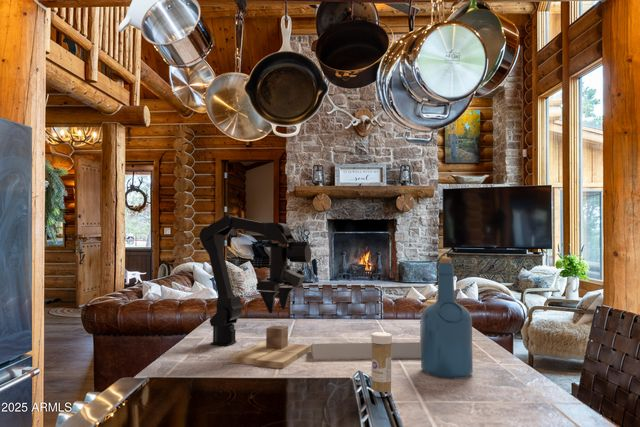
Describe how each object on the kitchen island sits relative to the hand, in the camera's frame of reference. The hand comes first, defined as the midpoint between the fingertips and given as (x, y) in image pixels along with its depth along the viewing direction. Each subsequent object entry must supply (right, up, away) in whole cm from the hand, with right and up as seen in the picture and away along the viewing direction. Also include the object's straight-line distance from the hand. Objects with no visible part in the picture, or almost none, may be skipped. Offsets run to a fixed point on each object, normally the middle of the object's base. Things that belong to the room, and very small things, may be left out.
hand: (277, 311), depth 146 cm
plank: (-4, -11, -9) cm, 15 cm away
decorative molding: (+28, -12, -8) cm, 32 cm away
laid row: (+3, -11, -12) cm, 17 cm away
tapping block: (0, -10, -6) cm, 11 cm away
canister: (+52, -13, 0) cm, 54 cm away
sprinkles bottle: (+27, -9, -44) cm, 53 cm away
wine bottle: (+47, -11, -26) cm, 55 cm away
